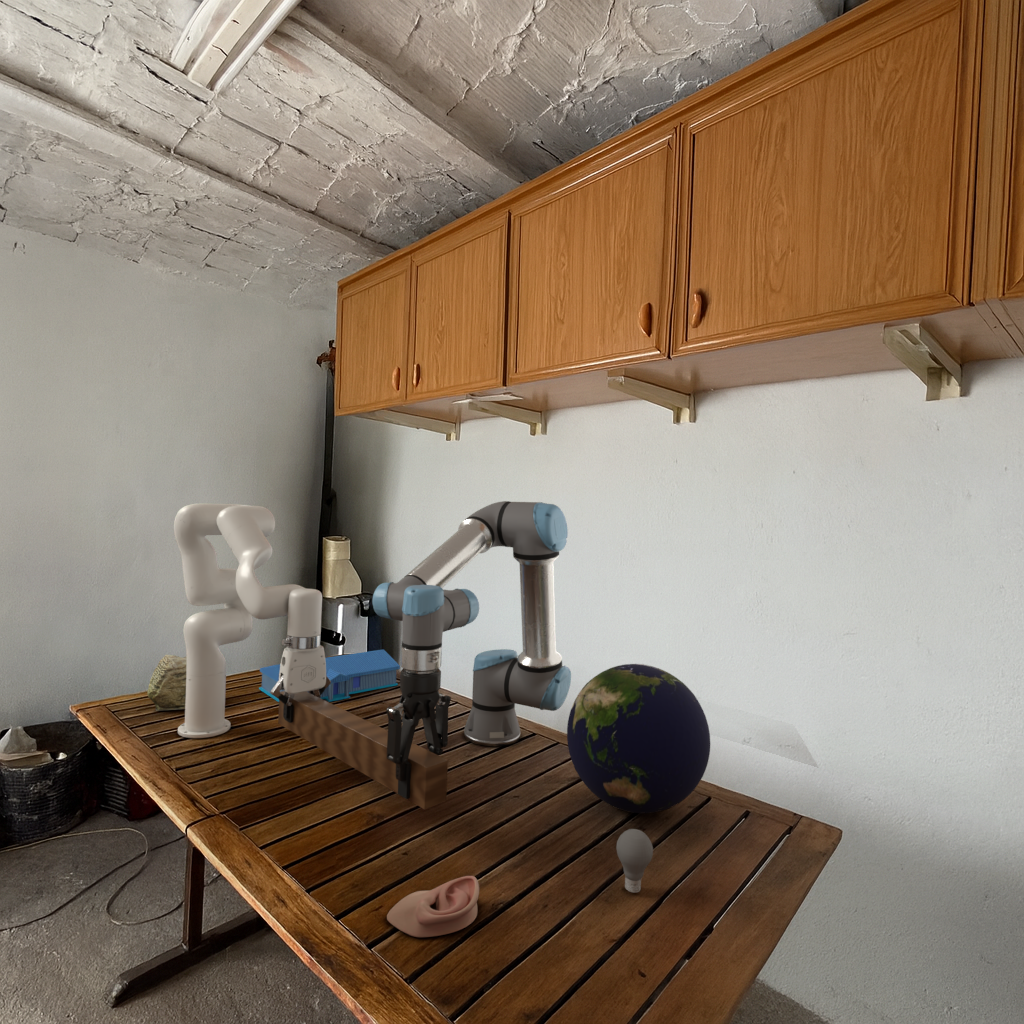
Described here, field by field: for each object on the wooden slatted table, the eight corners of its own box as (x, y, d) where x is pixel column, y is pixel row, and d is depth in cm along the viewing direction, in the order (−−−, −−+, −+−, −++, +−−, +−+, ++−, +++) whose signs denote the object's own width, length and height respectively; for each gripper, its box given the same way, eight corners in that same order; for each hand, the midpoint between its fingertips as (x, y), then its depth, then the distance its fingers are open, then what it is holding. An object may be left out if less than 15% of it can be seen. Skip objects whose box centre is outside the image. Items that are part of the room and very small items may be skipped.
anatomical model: (379, 903, 93) (407, 860, 104) (378, 930, 93) (406, 884, 105) (466, 919, 91) (485, 873, 102) (464, 947, 91) (484, 898, 102)
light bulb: (610, 879, 108) (613, 822, 108) (644, 879, 109) (647, 822, 109) (619, 902, 102) (622, 840, 102) (655, 901, 103) (658, 840, 103)
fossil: (144, 707, 182) (145, 655, 182) (212, 696, 194) (213, 647, 194) (151, 716, 175) (153, 662, 175) (221, 703, 188) (223, 653, 188)
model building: (289, 709, 186) (291, 675, 185) (258, 688, 204) (259, 657, 204) (403, 687, 212) (405, 657, 212) (366, 670, 230) (368, 643, 230)
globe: (544, 820, 127) (551, 672, 127) (585, 765, 155) (590, 643, 155) (698, 858, 116) (706, 696, 116) (712, 791, 144) (719, 660, 143)
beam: (278, 723, 152) (279, 691, 152) (297, 718, 155) (299, 687, 155) (424, 809, 113) (426, 767, 113) (446, 800, 117) (448, 759, 117)
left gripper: (276, 650, 140) (272, 731, 141) (344, 640, 153) (340, 714, 153) (261, 643, 146) (257, 721, 146) (327, 634, 158) (324, 706, 158)
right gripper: (392, 682, 109) (387, 814, 110) (470, 664, 123) (465, 783, 123) (368, 672, 115) (363, 799, 115) (445, 656, 128) (441, 770, 128)
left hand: (300, 717), depth 150 cm, fingers closed on beam, 5 cm apart
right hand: (416, 790), depth 119 cm, fingers closed on beam, 5 cm apart
